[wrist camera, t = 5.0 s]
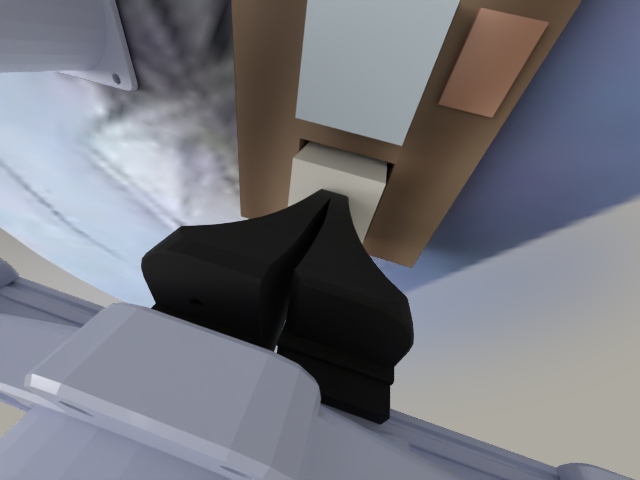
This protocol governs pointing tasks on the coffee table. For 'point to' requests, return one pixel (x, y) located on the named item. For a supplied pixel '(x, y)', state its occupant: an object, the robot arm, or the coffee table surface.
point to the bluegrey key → (369, 62)
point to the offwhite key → (339, 180)
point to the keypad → (427, 124)
